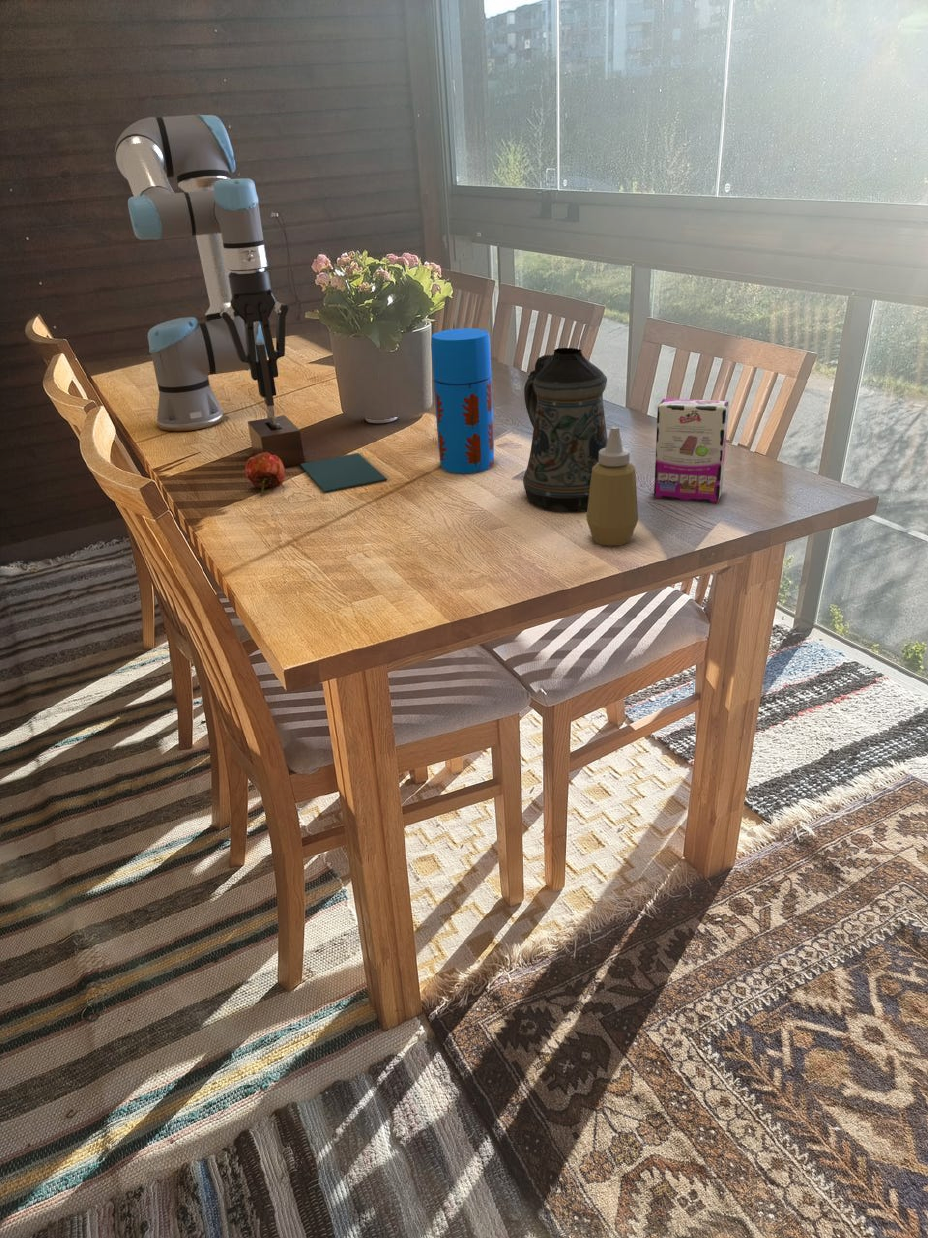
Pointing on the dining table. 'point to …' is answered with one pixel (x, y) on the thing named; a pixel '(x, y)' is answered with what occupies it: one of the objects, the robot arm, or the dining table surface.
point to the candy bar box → (690, 449)
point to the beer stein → (564, 430)
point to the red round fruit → (265, 470)
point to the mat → (342, 472)
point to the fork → (267, 386)
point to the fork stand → (277, 440)
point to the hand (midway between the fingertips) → (268, 394)
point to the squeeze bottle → (613, 494)
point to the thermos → (463, 399)
